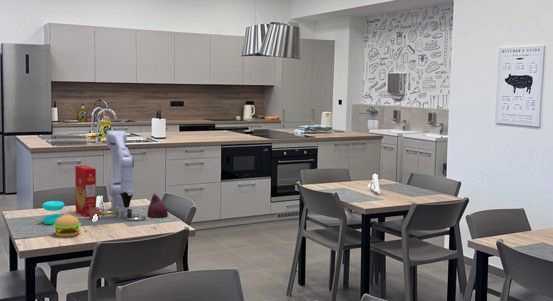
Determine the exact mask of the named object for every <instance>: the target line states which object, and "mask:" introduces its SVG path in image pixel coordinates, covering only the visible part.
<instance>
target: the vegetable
mask: <svg viewBox="0 0 553 301" xmlns="http://www.w3.org/2000/svg"><path fill="white" fill-rule="evenodd" d="M146 215H147V218H149V219H166V218H168V216H169V213H168V208H167V206H166V204H165V203H164V201H163V200H162V199H161V198H160V197H159V195H158V194H157V193H154V192H153V194H152V197H151V200H150V202H149V205H148V208H147V214H146Z"/></svg>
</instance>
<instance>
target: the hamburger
mask: <svg viewBox="0 0 553 301" xmlns="http://www.w3.org/2000/svg"><path fill="white" fill-rule="evenodd" d="M80 225H81V223H79V220H78V217H76V216H74V215H71V214H65V215H62V217H59V218H58V219H57V220H56V222H55V224H53V225H52V227H54V229H55V233H54V234H55V236H57V237H61V238H71V237H76V236H78V234H80V227H81V226H80Z"/></svg>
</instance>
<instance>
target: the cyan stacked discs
mask: <svg viewBox="0 0 553 301" xmlns="http://www.w3.org/2000/svg"><path fill="white" fill-rule="evenodd" d="M41 207H42V208H43V209H44V210H45V211H50V212H56V211H60V210H63V209H64V207H65V203H64V202H63V201H59V200H49V201H46V202H44V203H43V204H42V205H41ZM62 216H63V215H62V214H56V213H55V214H47V215H45V216H44V217H43V218H42V222H43V224H45V225H50V224H52V226H53V224H55V222H56V220H57V219H58V218H59V217H62Z"/></svg>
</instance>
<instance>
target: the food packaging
mask: <svg viewBox="0 0 553 301" xmlns="http://www.w3.org/2000/svg"><path fill="white" fill-rule="evenodd" d="M74 167H75V168H74V169H75V173H74V174H75V184H74V185H75V212H76V213H77V214H79V215H80V216H83V218H90V207H97V169H96V168H94V167H91V166H88V165H75V166H74Z"/></svg>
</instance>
